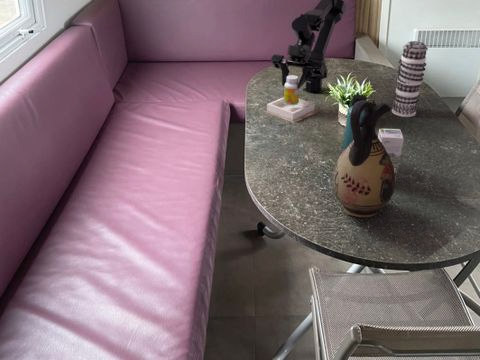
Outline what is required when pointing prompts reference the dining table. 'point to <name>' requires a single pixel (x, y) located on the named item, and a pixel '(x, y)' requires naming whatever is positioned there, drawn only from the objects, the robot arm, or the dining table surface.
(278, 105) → the dish
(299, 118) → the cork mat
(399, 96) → the white banded cylinder
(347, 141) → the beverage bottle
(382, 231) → the dining table surface
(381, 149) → the ceramic jug
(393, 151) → the syrup box
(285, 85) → the supplement bottle
